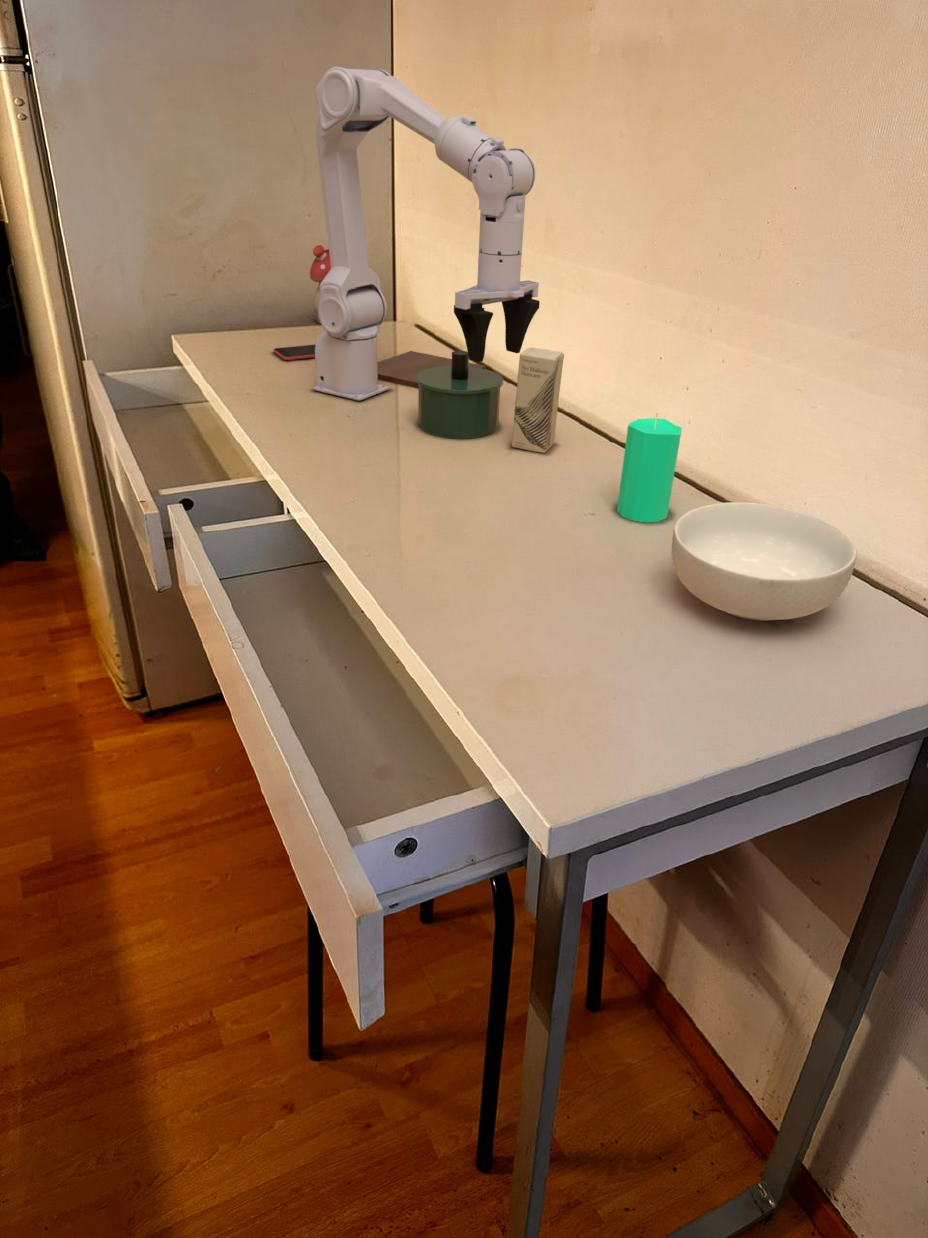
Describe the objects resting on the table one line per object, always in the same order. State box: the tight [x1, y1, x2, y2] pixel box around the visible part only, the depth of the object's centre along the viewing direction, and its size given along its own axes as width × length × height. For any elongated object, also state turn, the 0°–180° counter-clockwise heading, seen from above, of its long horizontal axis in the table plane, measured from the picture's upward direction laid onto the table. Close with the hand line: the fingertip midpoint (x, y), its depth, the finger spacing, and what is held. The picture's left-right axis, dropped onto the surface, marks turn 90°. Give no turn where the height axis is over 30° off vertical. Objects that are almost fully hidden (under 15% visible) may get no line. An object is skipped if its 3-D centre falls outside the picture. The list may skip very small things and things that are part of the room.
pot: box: [417, 385, 501, 440], centre depth 129 cm, size 11×11×6 cm
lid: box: [416, 350, 504, 394], centre depth 126 cm, size 12×12×5 cm
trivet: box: [377, 350, 487, 389], centre depth 154 cm, size 16×16×1 cm
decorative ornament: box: [309, 244, 331, 325], centre depth 180 cm, size 9×7×15 cm
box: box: [511, 347, 565, 454], centre depth 121 cm, size 5×4×13 cm
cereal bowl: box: [671, 501, 858, 622], centre depth 86 cm, size 17×17×7 cm
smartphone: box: [273, 343, 316, 361], centre depth 162 cm, size 7×1×14 cm
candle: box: [616, 412, 683, 523], centre depth 103 cm, size 6×6×12 cm
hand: (494, 355), depth 125 cm, fingers open, 7 cm apart
